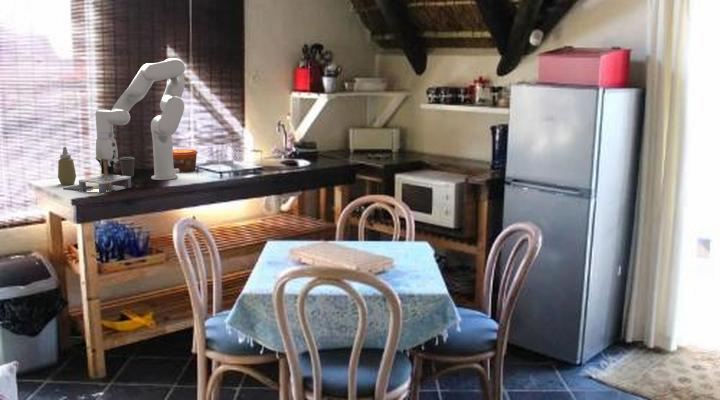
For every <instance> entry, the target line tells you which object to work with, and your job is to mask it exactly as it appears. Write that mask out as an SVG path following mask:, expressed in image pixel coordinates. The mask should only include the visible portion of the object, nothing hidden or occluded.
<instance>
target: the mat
mask: <svg viewBox="0 0 720 400" xmlns="http://www.w3.org/2000/svg"><path fill="white" fill-rule="evenodd" d="M91 188H94V186H93V185H86V190H87V189H91ZM62 189H63V190H66V191H67V190H68V191H77V192H80V191H79V184H76V185H70V186H67V187H63V188H62Z"/></svg>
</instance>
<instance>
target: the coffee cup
mask: <svg viewBox="0 0 720 400" xmlns="http://www.w3.org/2000/svg"><path fill="white" fill-rule="evenodd" d="M135 160H136V158H135V157H133V156H122V157H120V158H119V159H118V161H119V164H120V169H121V174H122V175H121V176H131V178H132V177H134V175H135V174H134V173H135Z"/></svg>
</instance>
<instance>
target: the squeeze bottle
mask: <svg viewBox="0 0 720 400" xmlns="http://www.w3.org/2000/svg"><path fill="white" fill-rule="evenodd" d="M59 157H60V159H58V164H57V165H58V166H57V178H58V180H59V182H60V185H63V186H73V185H75V182H76V180H77V179H76V178H77V174H76V168H75V162H74V159H73V158H71V157H72V155H71V154H70V153H69V152H68V150H67V146H63V148H62V154H61V153H60V155H59Z"/></svg>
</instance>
